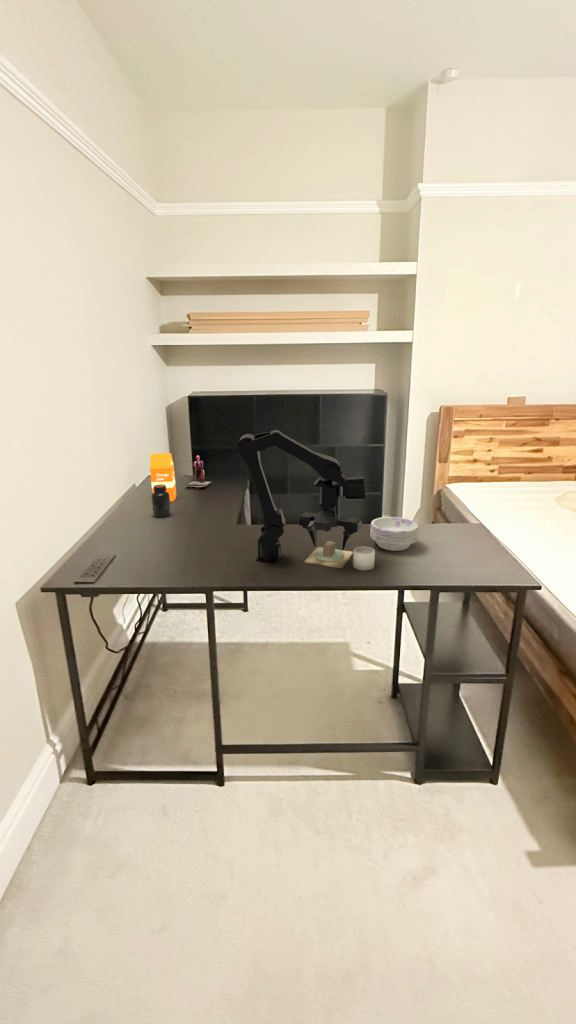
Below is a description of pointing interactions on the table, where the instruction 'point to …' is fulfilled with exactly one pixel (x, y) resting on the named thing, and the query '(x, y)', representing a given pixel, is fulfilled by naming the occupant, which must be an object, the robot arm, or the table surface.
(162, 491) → the supplement bottle
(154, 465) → the orange juice
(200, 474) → the statue
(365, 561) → the ramekin
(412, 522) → the paper bowls
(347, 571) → the table surface
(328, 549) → the cover
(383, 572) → the table surface
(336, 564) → the mat
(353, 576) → the table surface
